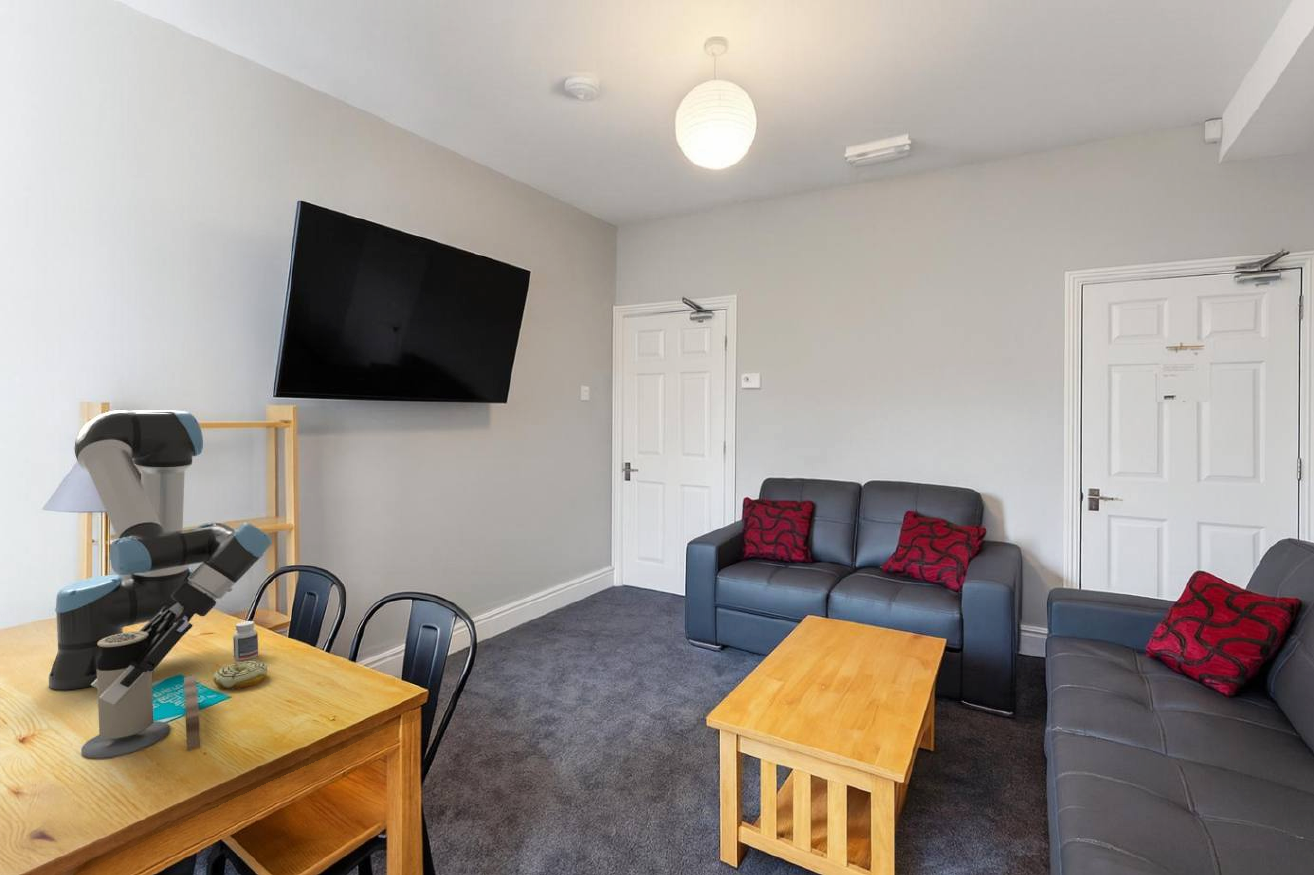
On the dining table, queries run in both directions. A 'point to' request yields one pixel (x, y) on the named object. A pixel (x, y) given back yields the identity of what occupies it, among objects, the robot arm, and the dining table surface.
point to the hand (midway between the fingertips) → (102, 694)
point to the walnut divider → (191, 713)
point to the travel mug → (138, 701)
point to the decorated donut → (240, 675)
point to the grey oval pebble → (125, 742)
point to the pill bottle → (245, 641)
